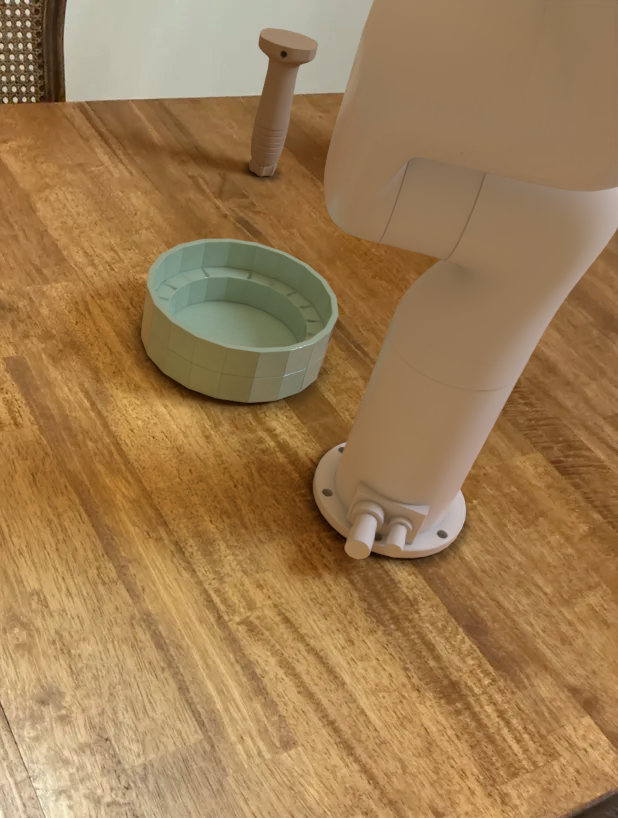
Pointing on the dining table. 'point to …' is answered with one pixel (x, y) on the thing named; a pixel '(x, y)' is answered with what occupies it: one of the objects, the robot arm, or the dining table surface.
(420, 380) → the robot arm
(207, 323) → the bowl
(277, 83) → the handle
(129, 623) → the dining table surface
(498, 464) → the dining table surface
